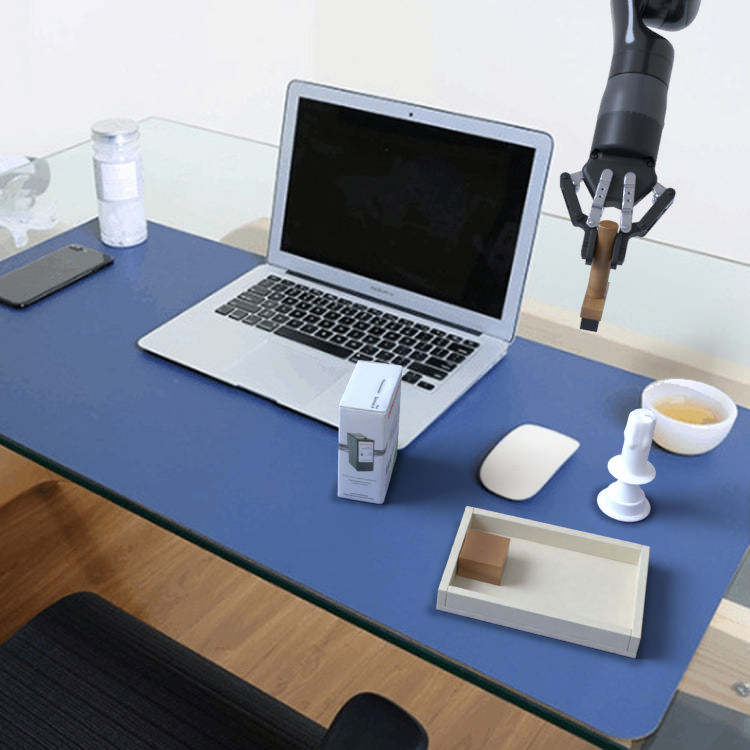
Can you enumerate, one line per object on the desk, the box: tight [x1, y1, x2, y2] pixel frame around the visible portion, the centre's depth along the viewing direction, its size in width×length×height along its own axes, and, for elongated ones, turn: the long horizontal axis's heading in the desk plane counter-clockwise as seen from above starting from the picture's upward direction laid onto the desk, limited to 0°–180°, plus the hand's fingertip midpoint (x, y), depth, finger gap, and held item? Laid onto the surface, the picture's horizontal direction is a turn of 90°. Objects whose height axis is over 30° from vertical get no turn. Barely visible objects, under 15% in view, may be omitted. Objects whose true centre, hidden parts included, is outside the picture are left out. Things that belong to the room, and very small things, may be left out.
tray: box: [435, 505, 651, 659], centre depth 92 cm, size 18×12×3 cm, turn 73°
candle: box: [596, 408, 657, 523], centre depth 99 cm, size 5×5×12 cm
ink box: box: [337, 359, 403, 505], centre depth 101 cm, size 9×5×12 cm, turn 168°
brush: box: [579, 219, 620, 333], centre depth 115 cm, size 2×7×12 cm, turn 163°
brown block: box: [457, 529, 511, 586], centre depth 93 cm, size 4×4×2 cm
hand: (601, 264), depth 113 cm, fingers closed on brush, 2 cm apart
